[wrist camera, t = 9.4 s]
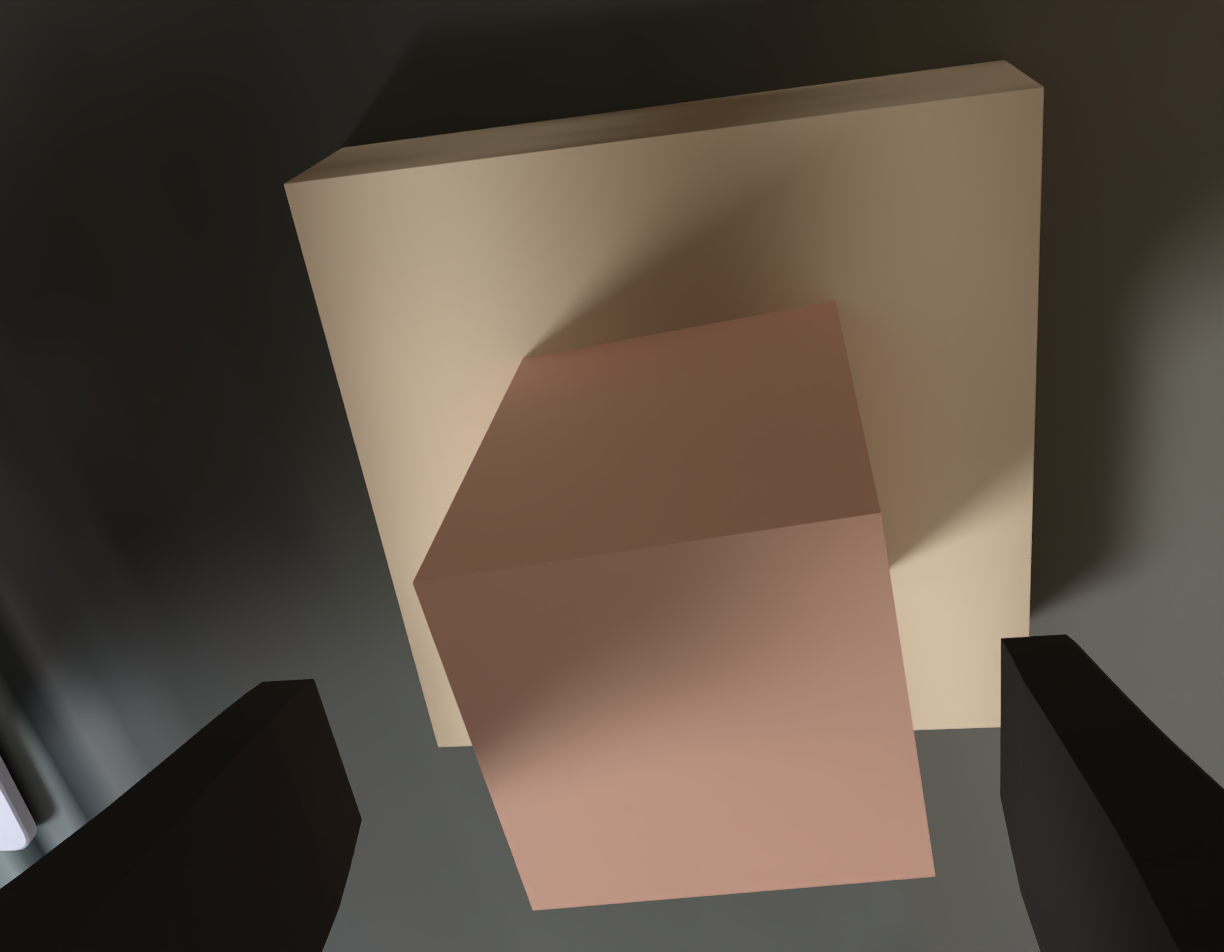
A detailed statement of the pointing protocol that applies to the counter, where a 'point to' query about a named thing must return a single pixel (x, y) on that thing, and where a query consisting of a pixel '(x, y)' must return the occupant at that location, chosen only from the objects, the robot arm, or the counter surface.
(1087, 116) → the counter surface
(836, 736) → the pinkish brown block
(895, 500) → the oak block
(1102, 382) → the counter surface
